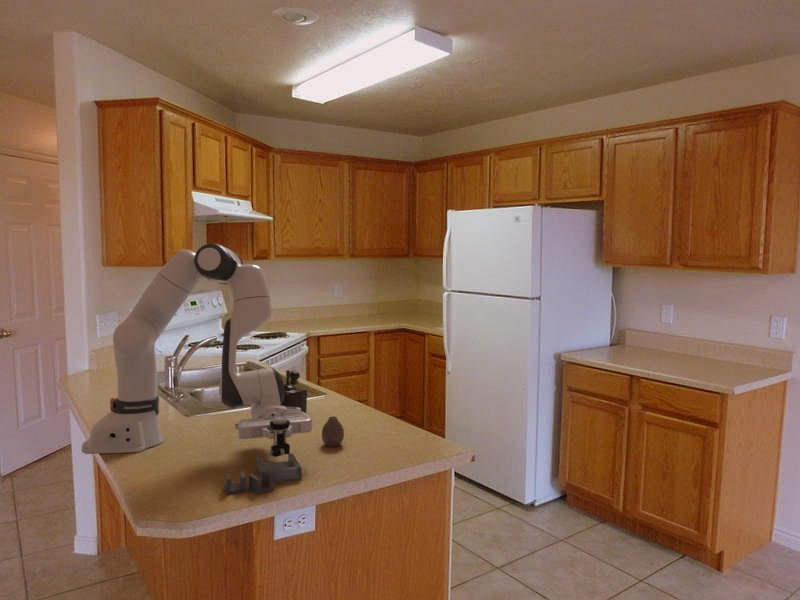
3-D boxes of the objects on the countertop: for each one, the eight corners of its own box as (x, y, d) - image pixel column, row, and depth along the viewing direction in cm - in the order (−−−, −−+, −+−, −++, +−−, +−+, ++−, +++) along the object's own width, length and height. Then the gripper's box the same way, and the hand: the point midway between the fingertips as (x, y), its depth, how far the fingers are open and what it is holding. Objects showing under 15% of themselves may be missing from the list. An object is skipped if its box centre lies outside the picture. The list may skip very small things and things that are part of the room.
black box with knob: (265, 415, 210) (265, 366, 209) (289, 409, 219) (289, 362, 217) (293, 423, 200) (293, 372, 199) (316, 417, 209) (317, 368, 207)
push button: (272, 460, 151) (271, 423, 150) (261, 455, 155) (261, 419, 154) (293, 454, 156) (293, 418, 155) (283, 449, 160) (283, 414, 159)
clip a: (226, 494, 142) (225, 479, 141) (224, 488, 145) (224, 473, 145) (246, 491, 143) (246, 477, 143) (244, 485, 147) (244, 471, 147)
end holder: (263, 484, 148) (263, 472, 148) (257, 468, 159) (257, 457, 159) (301, 479, 152) (301, 467, 152) (292, 464, 162) (292, 453, 162)
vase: (326, 449, 175) (326, 421, 174) (318, 443, 181) (318, 415, 180) (347, 446, 178) (347, 419, 177) (339, 440, 184) (339, 413, 183)
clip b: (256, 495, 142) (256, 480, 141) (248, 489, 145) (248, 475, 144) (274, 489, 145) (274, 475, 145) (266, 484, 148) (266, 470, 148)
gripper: (233, 413, 163) (239, 427, 150) (305, 406, 170) (316, 419, 158) (234, 434, 163) (240, 451, 151) (305, 427, 171) (316, 442, 158)
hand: (279, 435), depth 154 cm, fingers closed on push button, 3 cm apart
